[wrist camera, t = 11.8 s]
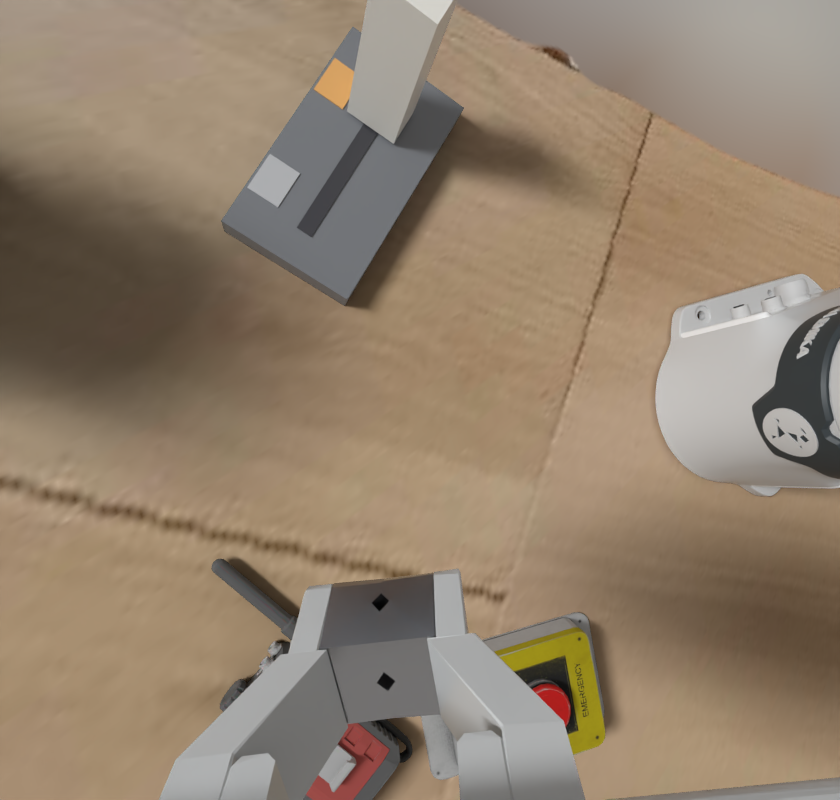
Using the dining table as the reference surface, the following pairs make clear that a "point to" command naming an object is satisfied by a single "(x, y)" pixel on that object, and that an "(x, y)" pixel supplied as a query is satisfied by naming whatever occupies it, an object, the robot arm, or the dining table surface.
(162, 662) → the dining table surface
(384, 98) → the switch tab
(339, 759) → the walkie-talkie
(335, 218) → the switch panel
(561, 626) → the emergency button
